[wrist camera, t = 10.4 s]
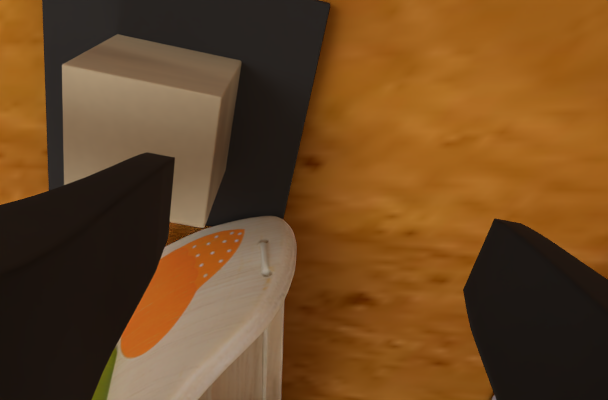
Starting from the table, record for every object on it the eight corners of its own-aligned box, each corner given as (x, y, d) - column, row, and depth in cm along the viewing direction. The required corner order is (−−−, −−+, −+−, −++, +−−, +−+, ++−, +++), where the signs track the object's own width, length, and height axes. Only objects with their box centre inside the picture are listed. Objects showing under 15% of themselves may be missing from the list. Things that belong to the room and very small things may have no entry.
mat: (279, 234, 23) (278, 239, 23) (53, 191, 22) (48, 196, 22) (330, 3, 18) (330, 4, 18) (45, -62, 17) (39, -62, 17)
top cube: (225, 170, 21) (203, 229, 17) (113, 148, 21) (63, 203, 17) (242, 60, 19) (222, 97, 15) (116, 33, 18) (60, 63, 14)
